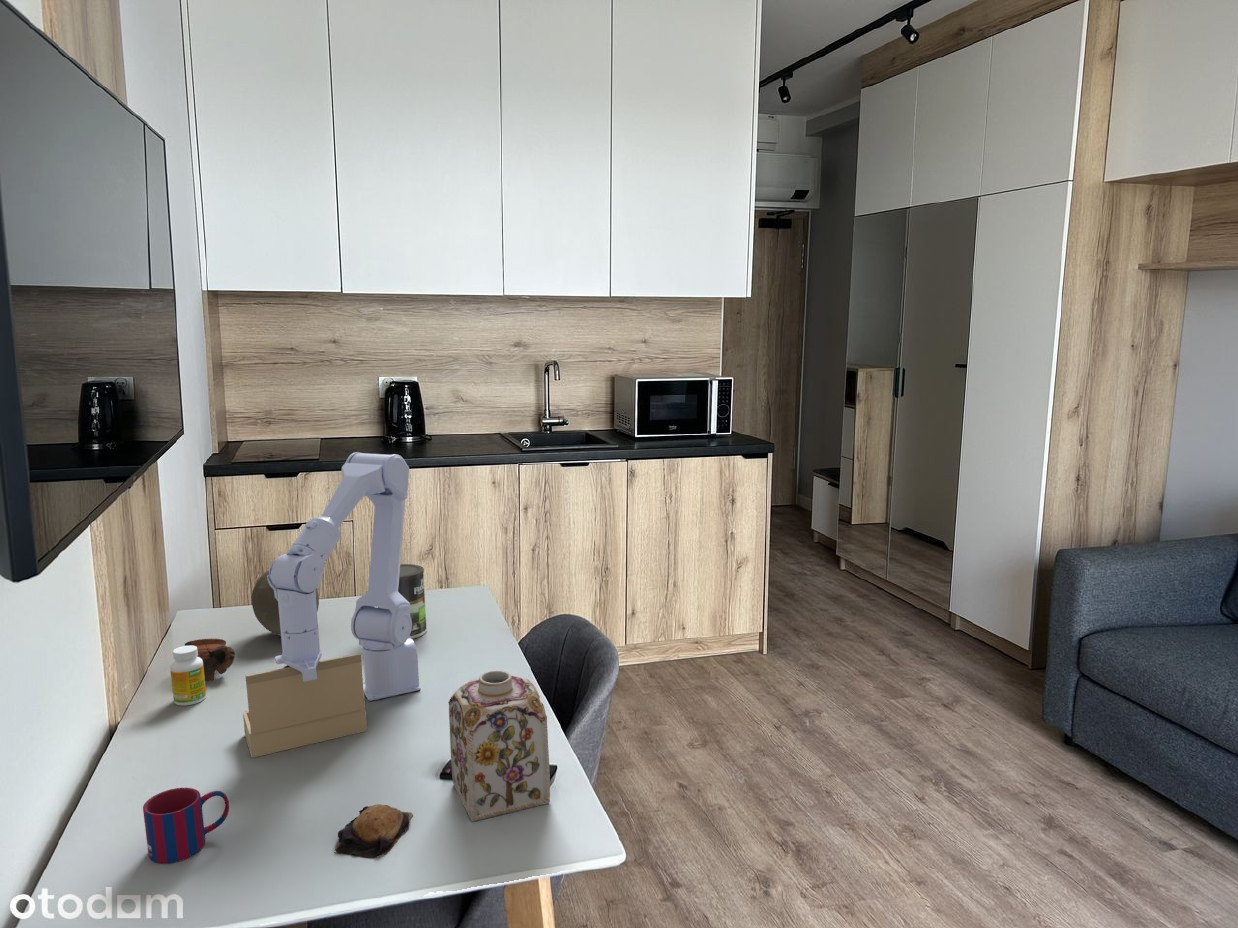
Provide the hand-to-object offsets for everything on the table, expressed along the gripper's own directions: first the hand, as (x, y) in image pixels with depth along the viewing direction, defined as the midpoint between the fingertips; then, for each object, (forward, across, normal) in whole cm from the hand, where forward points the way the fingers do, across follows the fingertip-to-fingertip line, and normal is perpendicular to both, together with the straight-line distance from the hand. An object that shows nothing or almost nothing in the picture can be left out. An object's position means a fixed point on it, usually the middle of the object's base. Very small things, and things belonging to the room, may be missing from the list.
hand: (305, 707), depth 146 cm
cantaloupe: (+6, -53, +5) cm, 53 cm away
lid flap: (-3, +2, 0) cm, 4 cm away
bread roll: (+6, +33, +3) cm, 33 cm away
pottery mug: (+6, -38, -12) cm, 40 cm away
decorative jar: (+6, +32, +21) cm, 39 cm away
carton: (+6, -2, 0) cm, 6 cm away
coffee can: (+6, -41, +27) cm, 49 cm away
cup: (+6, +23, -19) cm, 30 cm away
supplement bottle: (+6, -27, -16) cm, 32 cm away
